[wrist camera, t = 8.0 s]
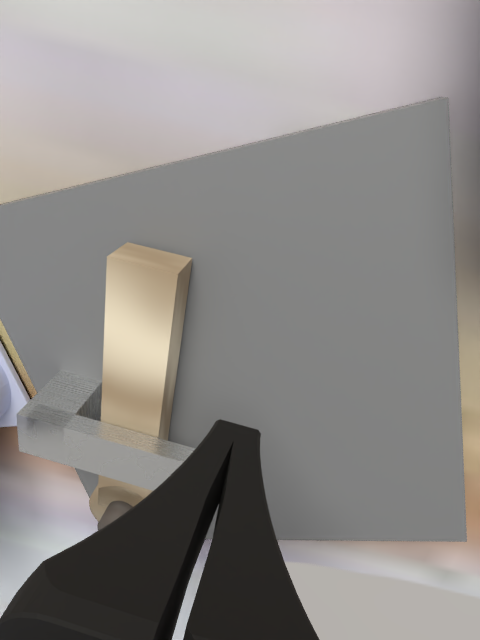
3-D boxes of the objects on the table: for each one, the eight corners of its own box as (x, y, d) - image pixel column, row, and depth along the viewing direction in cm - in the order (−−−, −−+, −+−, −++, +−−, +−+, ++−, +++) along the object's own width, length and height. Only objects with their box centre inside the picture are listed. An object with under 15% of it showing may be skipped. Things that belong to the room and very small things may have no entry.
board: (119, 519, 31) (109, 538, 30) (-28, 211, 23) (-50, 218, 21) (460, 518, 25) (466, 541, 24) (439, 97, 17) (448, 97, 15)
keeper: (61, 404, 25) (19, 450, 22) (60, 370, 24) (16, 413, 21) (221, 449, 25) (203, 505, 21) (228, 416, 23) (210, 470, 20)
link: (165, 516, 27) (145, 564, 25) (104, 498, 28) (78, 543, 25) (203, 260, 19) (180, 288, 17) (117, 239, 20) (80, 263, 17)
